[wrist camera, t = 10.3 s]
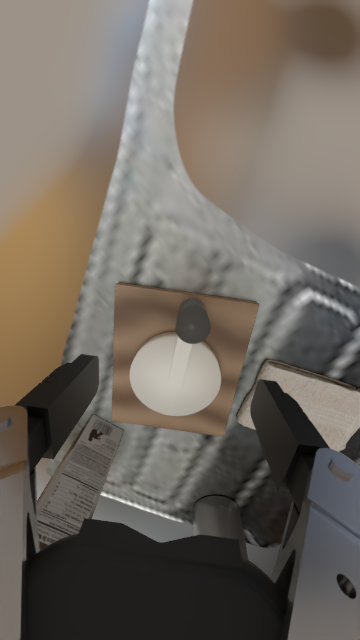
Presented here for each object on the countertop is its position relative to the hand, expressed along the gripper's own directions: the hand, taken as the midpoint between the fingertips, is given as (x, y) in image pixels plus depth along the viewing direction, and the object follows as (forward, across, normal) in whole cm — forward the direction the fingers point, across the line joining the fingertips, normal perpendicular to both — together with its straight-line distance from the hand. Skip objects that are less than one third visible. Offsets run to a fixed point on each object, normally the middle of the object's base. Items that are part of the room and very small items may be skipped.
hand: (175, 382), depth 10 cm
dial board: (+18, 0, +10) cm, 20 cm away
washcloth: (+18, -20, +14) cm, 31 cm away
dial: (+16, 0, +7) cm, 17 cm away
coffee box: (+18, +12, +27) cm, 34 cm away
